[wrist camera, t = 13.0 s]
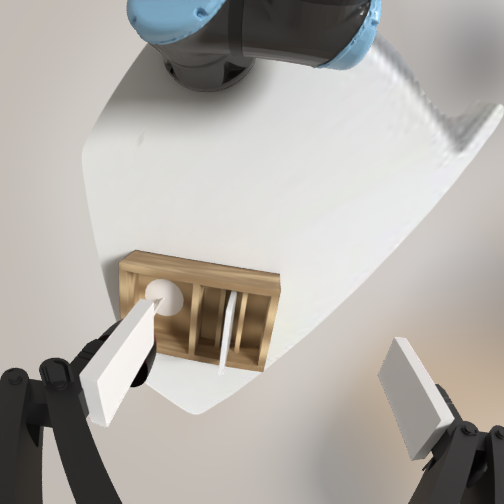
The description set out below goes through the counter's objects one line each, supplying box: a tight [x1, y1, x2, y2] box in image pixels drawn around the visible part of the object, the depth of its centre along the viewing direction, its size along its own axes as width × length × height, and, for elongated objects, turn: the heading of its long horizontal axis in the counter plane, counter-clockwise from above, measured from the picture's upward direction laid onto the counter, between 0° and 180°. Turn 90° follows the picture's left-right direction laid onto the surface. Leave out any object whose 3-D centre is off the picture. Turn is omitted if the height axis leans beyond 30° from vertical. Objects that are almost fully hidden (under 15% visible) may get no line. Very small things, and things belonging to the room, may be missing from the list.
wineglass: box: [98, 279, 184, 387], centre depth 46 cm, size 8×9×20 cm
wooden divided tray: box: [119, 250, 281, 372], centre depth 53 cm, size 16×26×7 cm, turn 81°
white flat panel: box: [218, 290, 238, 376], centre depth 50 cm, size 12×1×11 cm, turn 171°
